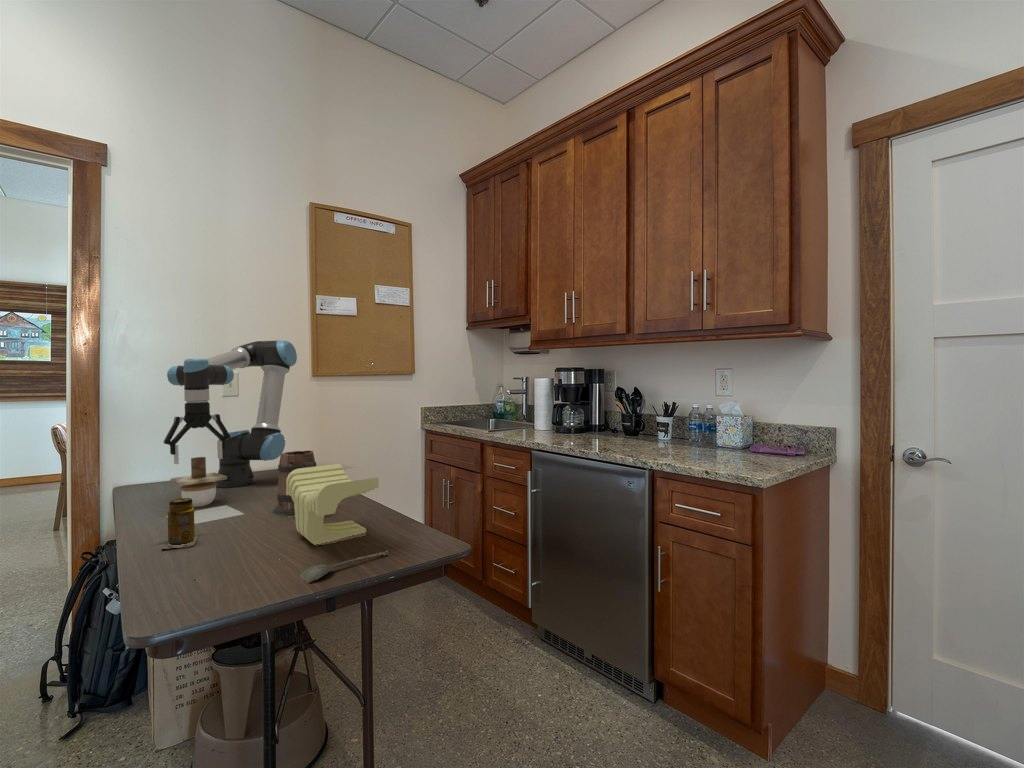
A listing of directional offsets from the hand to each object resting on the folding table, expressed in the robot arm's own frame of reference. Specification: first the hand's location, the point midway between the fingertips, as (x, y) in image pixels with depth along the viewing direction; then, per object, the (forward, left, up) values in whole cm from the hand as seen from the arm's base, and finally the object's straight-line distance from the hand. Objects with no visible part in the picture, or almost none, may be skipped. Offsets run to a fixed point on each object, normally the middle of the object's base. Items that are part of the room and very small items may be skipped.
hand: (198, 461), depth 174 cm
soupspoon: (-5, +95, -17) cm, 97 cm away
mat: (+3, +18, -16) cm, 24 cm away
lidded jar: (0, 0, -16) cm, 16 cm away
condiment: (+16, +44, -16) cm, 50 cm away
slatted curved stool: (-14, +70, -16) cm, 73 cm away
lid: (0, 0, -7) cm, 7 cm away
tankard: (-20, +38, -16) cm, 46 cm away
